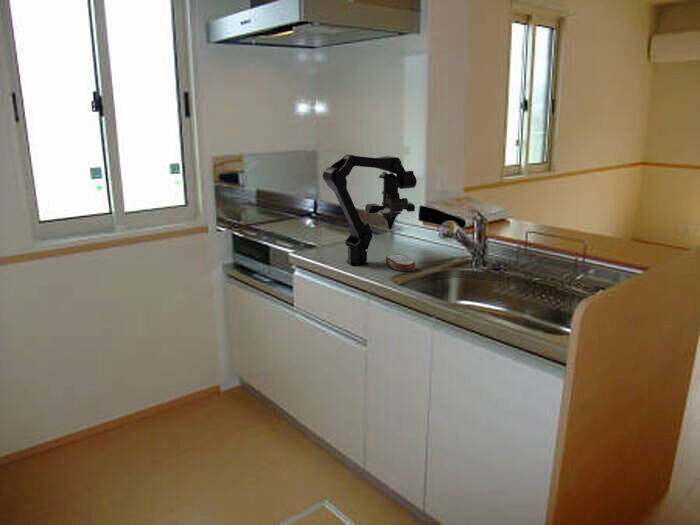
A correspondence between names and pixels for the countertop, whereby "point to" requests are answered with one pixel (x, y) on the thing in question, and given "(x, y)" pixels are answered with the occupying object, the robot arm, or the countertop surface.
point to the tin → (400, 262)
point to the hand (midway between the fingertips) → (389, 229)
